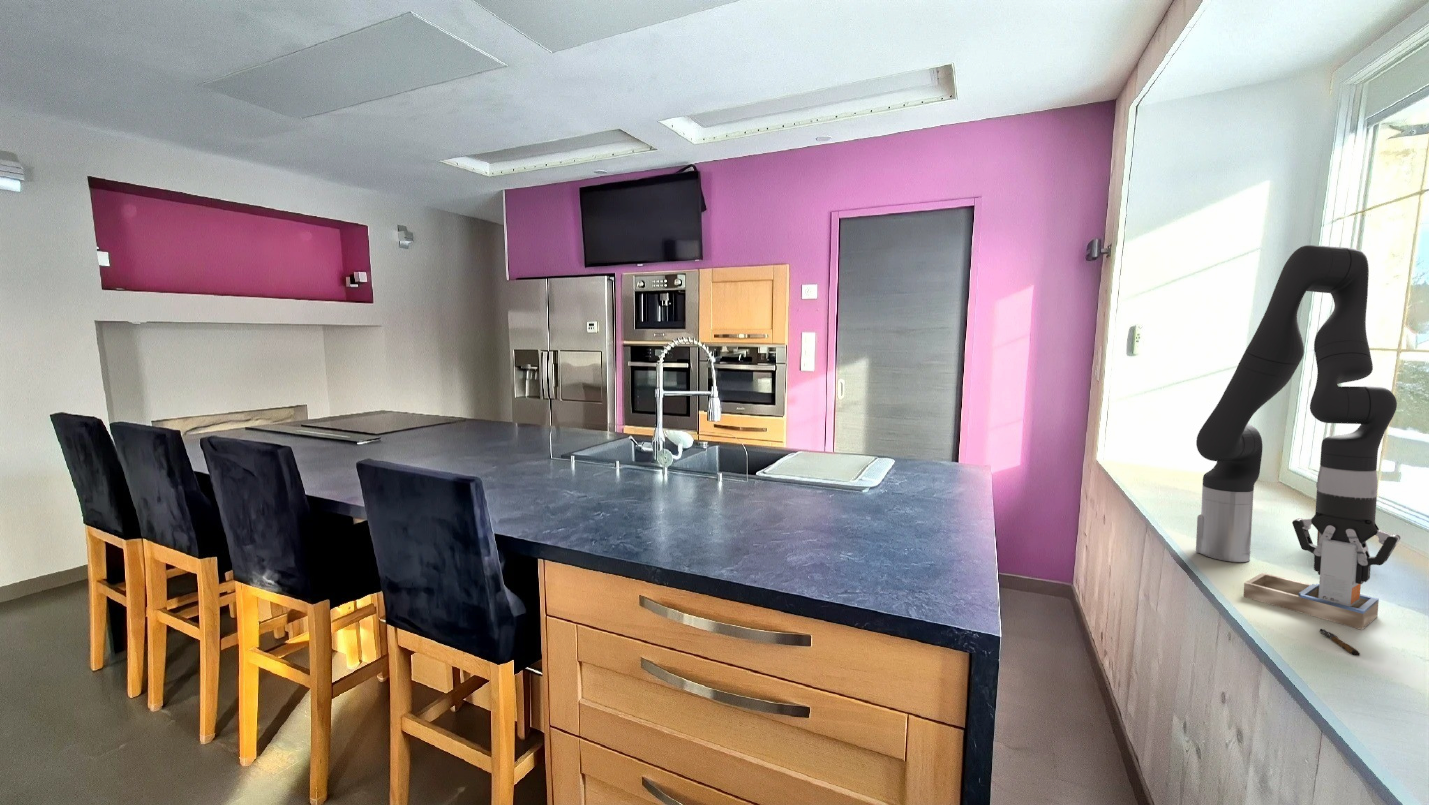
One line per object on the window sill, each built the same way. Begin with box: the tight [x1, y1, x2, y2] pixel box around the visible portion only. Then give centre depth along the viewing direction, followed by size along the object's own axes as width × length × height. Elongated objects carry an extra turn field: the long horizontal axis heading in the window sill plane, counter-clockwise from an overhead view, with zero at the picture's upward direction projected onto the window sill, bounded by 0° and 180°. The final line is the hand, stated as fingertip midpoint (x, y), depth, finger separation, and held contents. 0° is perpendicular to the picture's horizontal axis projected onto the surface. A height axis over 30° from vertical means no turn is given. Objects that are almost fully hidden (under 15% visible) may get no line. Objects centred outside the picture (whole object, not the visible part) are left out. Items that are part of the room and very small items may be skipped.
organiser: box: [1243, 572, 1380, 631], centre depth 110 cm, size 16×10×4 cm, turn 29°
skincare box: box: [1318, 540, 1362, 606], centre depth 106 cm, size 6×4×12 cm
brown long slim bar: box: [1319, 628, 1361, 657], centre depth 97 cm, size 9×2×1 cm, turn 154°
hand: (1340, 578), depth 106 cm, fingers closed on skincare box, 4 cm apart
